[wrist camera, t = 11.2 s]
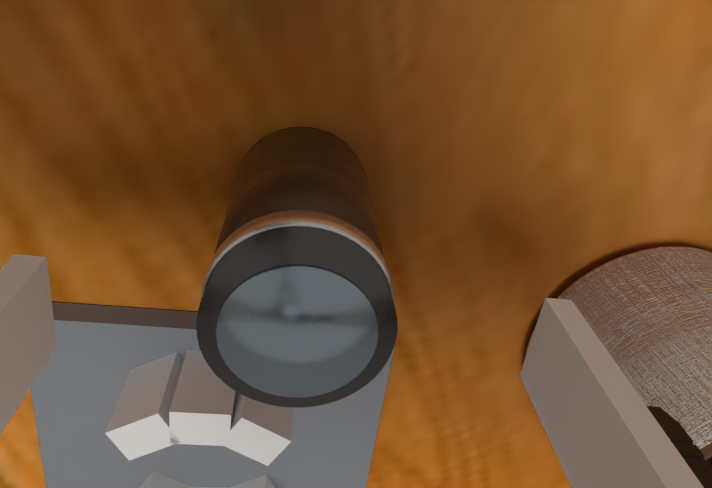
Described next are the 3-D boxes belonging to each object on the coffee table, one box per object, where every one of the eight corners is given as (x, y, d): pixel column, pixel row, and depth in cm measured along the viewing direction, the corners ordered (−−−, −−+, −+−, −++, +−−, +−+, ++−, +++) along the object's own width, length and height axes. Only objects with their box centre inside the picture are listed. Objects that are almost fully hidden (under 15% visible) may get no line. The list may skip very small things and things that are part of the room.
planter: (793, 332, 28) (1001, 508, 20) (604, 458, 31) (713, 655, 23) (674, 189, 24) (872, 334, 15) (471, 351, 27) (543, 543, 19)
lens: (237, 118, 21) (193, 237, 13) (377, 133, 22) (417, 256, 14) (232, 242, 24) (192, 408, 16) (358, 253, 24) (383, 417, 16)
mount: (31, 300, 24) (-30, 384, 20) (392, 325, 26) (408, 407, 22) (60, 498, 30) (17, 598, 25) (355, 507, 32) (363, 602, 27)
